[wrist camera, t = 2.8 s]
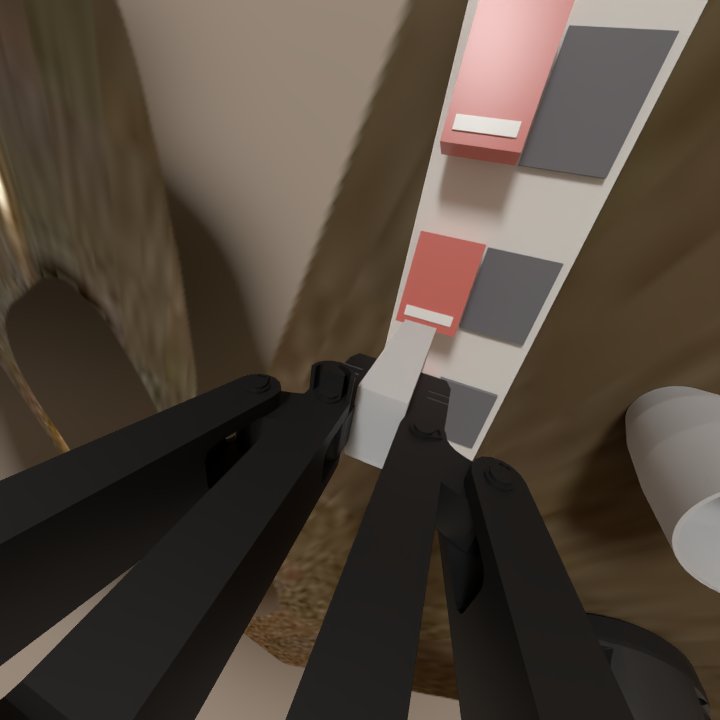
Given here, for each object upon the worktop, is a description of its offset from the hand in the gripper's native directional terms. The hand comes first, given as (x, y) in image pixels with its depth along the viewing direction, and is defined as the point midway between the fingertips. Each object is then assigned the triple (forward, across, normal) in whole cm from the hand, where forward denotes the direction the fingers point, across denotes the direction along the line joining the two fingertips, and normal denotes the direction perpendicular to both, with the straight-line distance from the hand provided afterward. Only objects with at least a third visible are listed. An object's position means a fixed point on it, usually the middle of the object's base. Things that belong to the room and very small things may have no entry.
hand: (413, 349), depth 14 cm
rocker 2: (+5, 0, -11) cm, 12 cm away
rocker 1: (+5, 0, -2) cm, 5 cm away
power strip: (+10, -2, +1) cm, 11 cm away
